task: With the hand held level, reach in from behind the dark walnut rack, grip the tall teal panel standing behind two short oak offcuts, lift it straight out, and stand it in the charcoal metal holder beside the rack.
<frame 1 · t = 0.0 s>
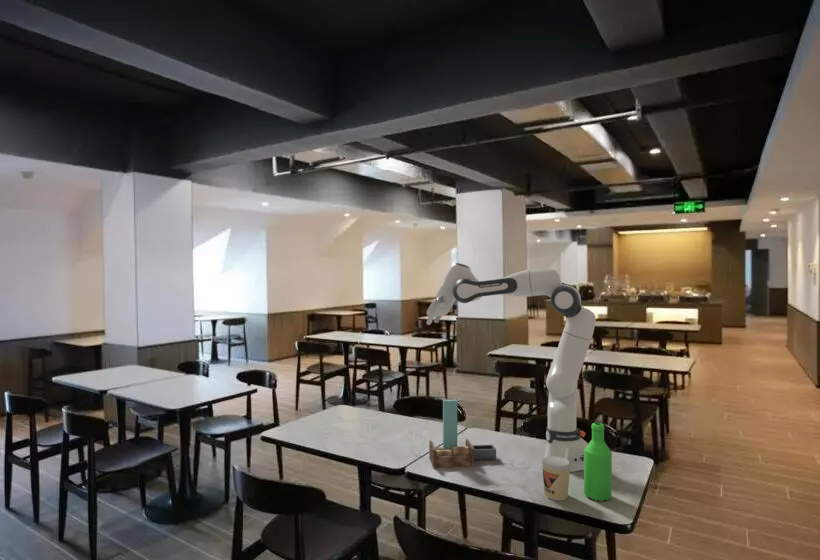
hand: (431, 323, 219), 54 cm above the table, tool tilted 30°, fingers open, 8 cm apart
coffee cup: (555, 496, 169), on the table
charcoal holder: (482, 462, 199), on the table
oak offcut 2: (460, 463, 193), point 1 cm above the table, touching walnut rack
teal panel: (450, 459, 197), point 1 cm above the table, touching walnut rack
walnut rack: (451, 465, 195), on the table
bottle: (597, 497, 168), on the table
oak offcut 1: (443, 464, 193), point 1 cm above the table, touching walnut rack
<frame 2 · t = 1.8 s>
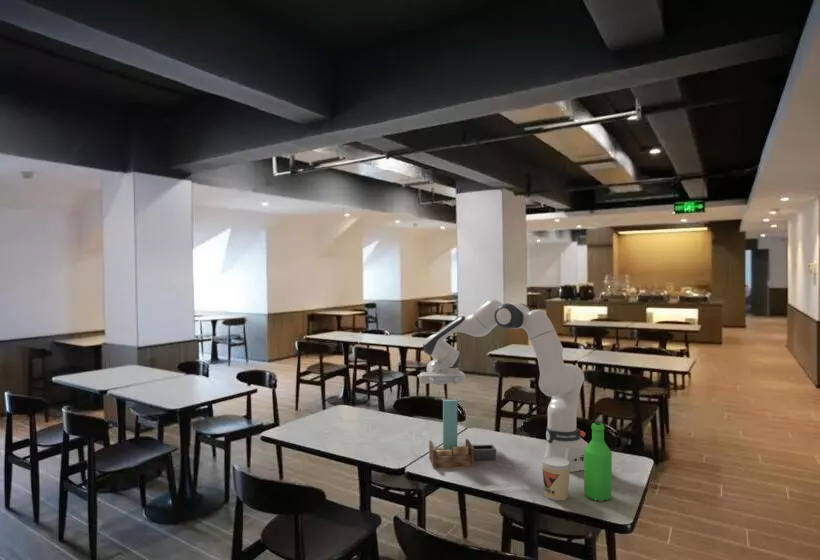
hand: (444, 381, 209), 30 cm above the table, tool horizontal, fingers open, 8 cm apart
nothing on the table moved.
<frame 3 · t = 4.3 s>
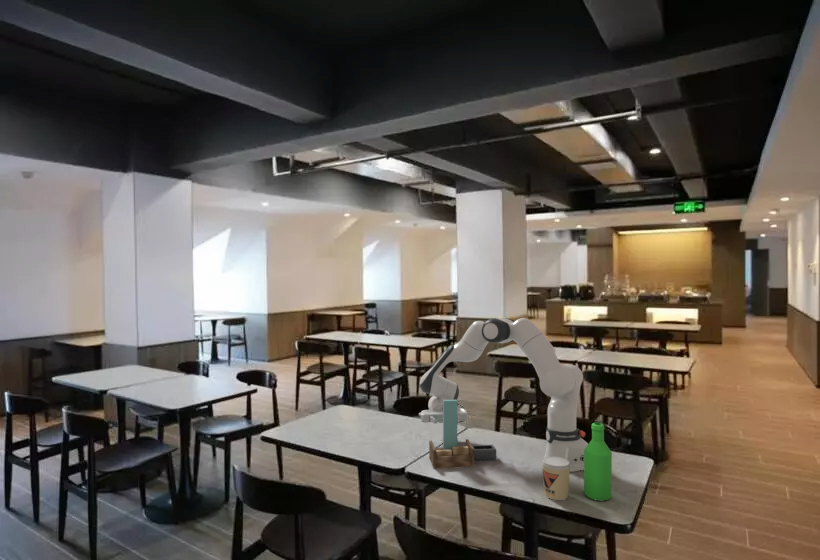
hand: (446, 421, 206), 15 cm above the table, tool horizontal, fingers open, 8 cm apart
nothing on the table moved.
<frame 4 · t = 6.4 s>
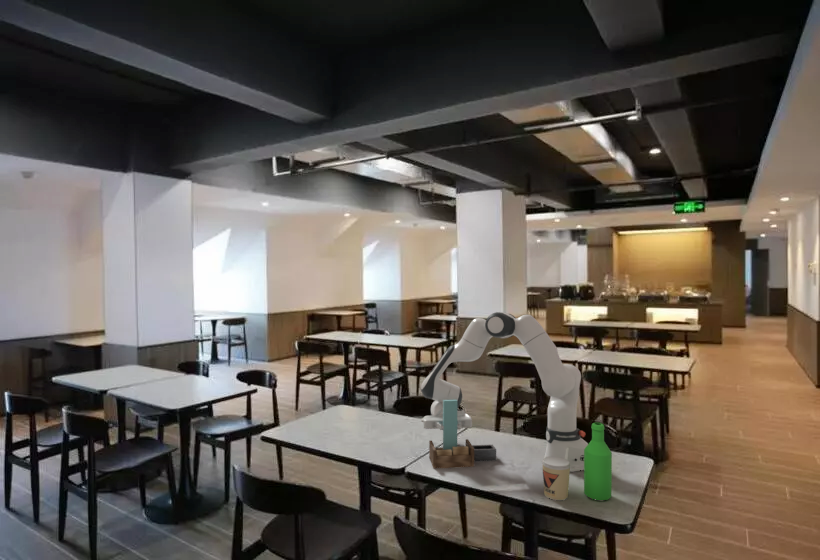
hand: (450, 427, 196), 15 cm above the table, tool horizontal, fingers closed on teal panel, 5 cm apart
teal panel: (450, 459, 197), point 2 cm above the table, touching gripper, walnut rack
everything else where it was.
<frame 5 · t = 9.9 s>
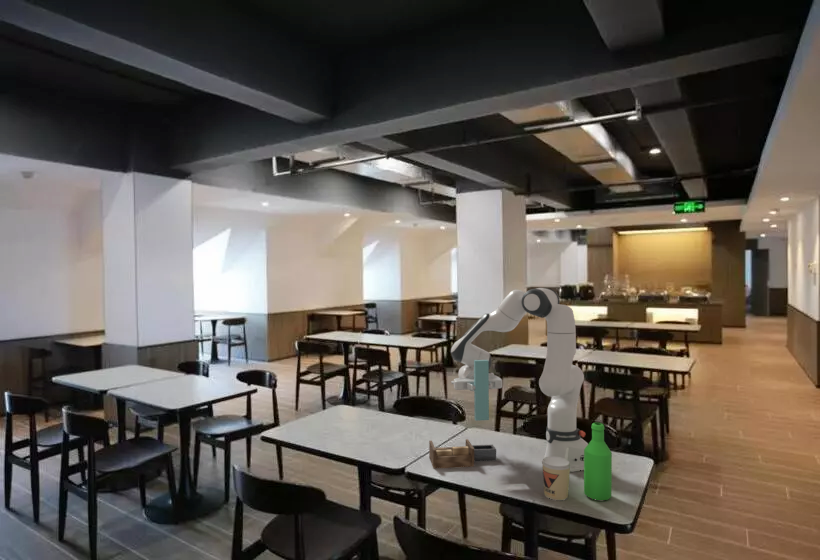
hand: (482, 387, 197), 31 cm above the table, tool horizontal, fingers closed on teal panel, 5 cm apart
teal panel: (481, 419, 198), point 17 cm above the table, touching gripper
everything else where it was.
when the fingers open (16 cm above the table, at t = 13.4 s): teal panel drops 1 cm, resting on charcoal holder.
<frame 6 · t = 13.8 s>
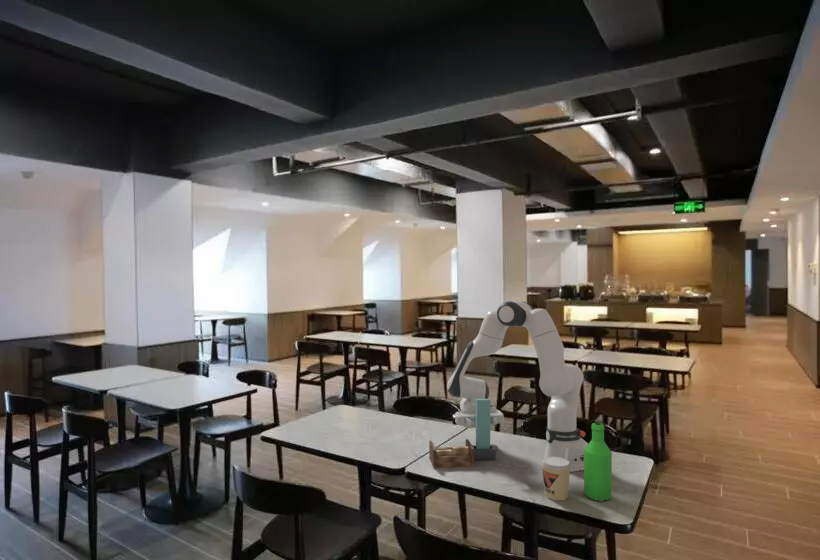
hand: (483, 423, 198), 16 cm above the table, tool horizontal, fingers open, 8 cm apart
teal panel: (482, 458, 199), point 1 cm above the table, touching charcoal holder
everything else where it was.
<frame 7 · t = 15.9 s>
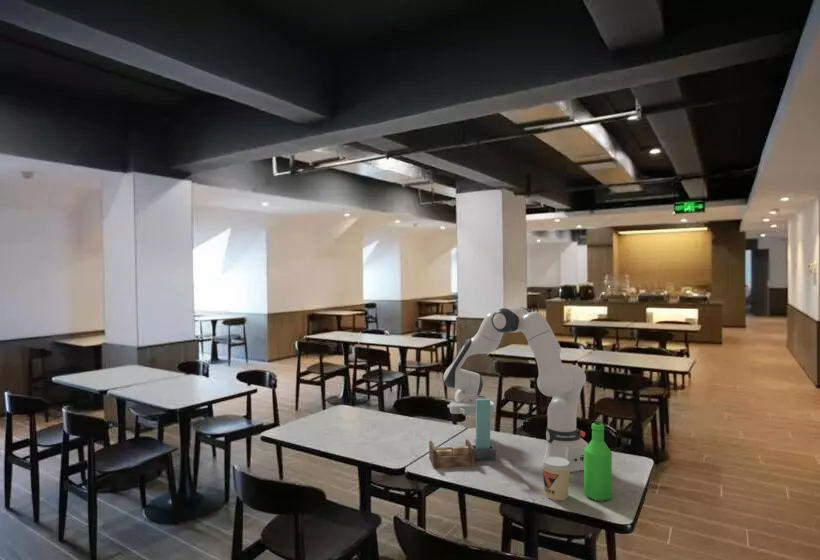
hand: (476, 412, 211), 17 cm above the table, tool horizontal, fingers open, 8 cm apart
nothing on the table moved.
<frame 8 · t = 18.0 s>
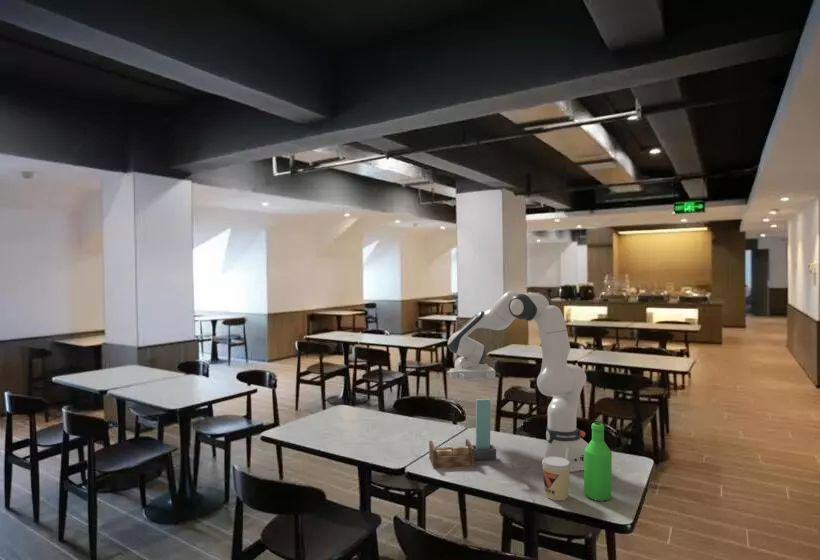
hand: (475, 377, 211), 32 cm above the table, tool horizontal, fingers open, 8 cm apart
nothing on the table moved.
at the end: teal panel 0.0 cm off-centre on the charcoal holder, point 1.5 cm above the charcoal holder's base; teal panel tilted 0°; oak offcut 2 moved 0.0 cm from its start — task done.
